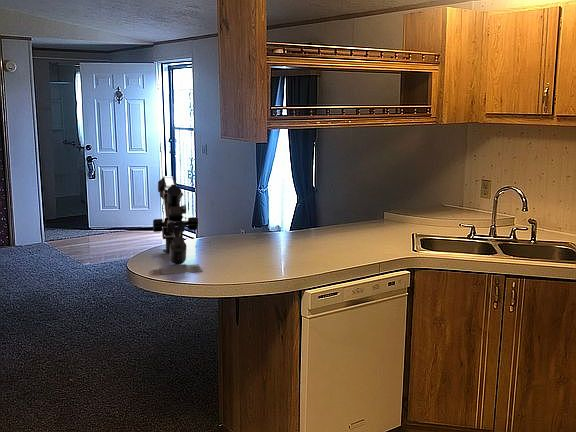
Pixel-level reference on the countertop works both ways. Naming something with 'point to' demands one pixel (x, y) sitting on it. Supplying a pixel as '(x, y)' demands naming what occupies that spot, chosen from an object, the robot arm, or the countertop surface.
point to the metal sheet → (180, 269)
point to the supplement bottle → (178, 250)
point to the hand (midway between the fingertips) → (177, 240)
